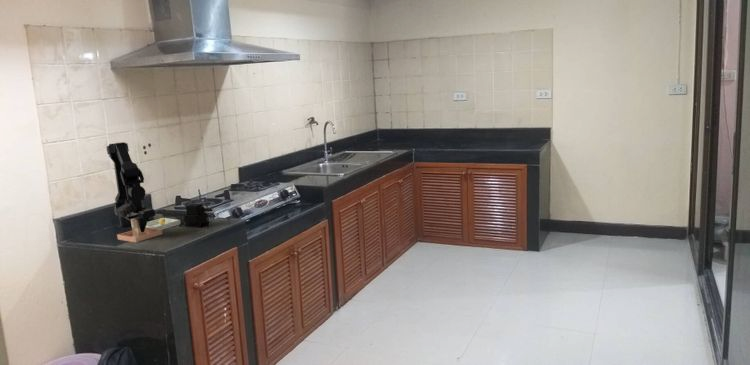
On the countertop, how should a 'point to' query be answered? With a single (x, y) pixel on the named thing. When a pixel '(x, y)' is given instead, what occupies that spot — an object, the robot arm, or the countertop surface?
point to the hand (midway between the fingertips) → (139, 231)
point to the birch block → (137, 228)
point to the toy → (196, 216)
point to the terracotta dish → (129, 236)
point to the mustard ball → (162, 221)
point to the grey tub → (168, 224)
